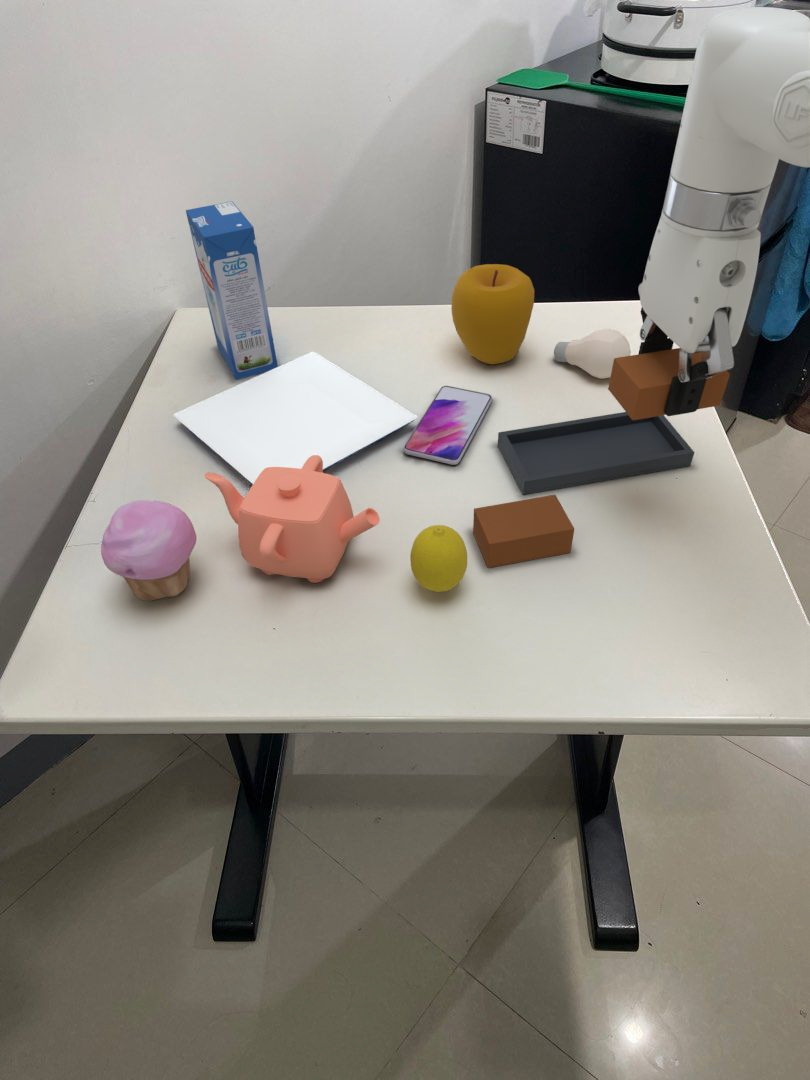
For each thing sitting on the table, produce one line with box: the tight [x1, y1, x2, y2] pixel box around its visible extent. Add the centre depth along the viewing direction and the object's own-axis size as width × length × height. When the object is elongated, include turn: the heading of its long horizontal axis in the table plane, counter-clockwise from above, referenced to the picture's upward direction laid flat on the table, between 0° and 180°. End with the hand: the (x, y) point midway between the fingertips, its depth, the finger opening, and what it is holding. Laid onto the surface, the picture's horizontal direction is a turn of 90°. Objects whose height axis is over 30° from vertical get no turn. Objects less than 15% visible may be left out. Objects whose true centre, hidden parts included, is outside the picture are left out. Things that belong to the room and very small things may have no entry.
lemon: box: [409, 524, 468, 593], centre depth 71 cm, size 6×6×8 cm
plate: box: [173, 351, 418, 485], centre depth 93 cm, size 22×22×2 cm
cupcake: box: [100, 499, 197, 602], centre depth 72 cm, size 9×9×10 cm
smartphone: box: [402, 385, 493, 466], centre depth 93 cm, size 7×1×15 cm
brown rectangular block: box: [607, 347, 731, 420], centre depth 70 cm, size 6×9×4 cm, turn 103°
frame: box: [497, 411, 695, 496], centre depth 87 cm, size 10×21×2 cm, turn 102°
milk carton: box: [185, 201, 279, 381], centre depth 100 cm, size 10×6×20 cm, turn 25°
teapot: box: [203, 455, 380, 584], centre depth 74 cm, size 14×12×10 cm
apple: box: [451, 263, 535, 365], centre depth 100 cm, size 11×11×13 cm
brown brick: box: [472, 494, 575, 569], centre depth 77 cm, size 6×9×4 cm, turn 102°
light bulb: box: [553, 328, 632, 379], centre depth 100 cm, size 7×7×11 cm
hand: (664, 392), depth 71 cm, fingers closed on brown rectangular block, 5 cm apart
